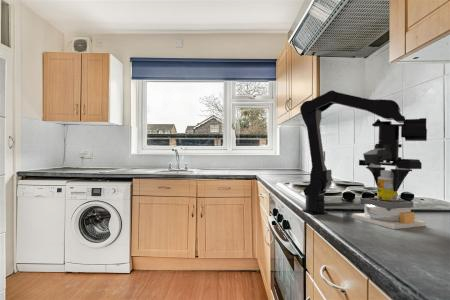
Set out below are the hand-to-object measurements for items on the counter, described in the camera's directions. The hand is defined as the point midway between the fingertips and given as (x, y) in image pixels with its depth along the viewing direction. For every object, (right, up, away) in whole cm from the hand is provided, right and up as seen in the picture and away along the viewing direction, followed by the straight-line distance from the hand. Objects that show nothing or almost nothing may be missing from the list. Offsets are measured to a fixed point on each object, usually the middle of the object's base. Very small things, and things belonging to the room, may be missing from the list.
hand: (387, 190), depth 101 cm
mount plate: (0, -10, 0) cm, 10 cm away
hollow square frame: (0, -9, -1) cm, 9 cm away
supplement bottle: (0, -4, 0) cm, 4 cm away
